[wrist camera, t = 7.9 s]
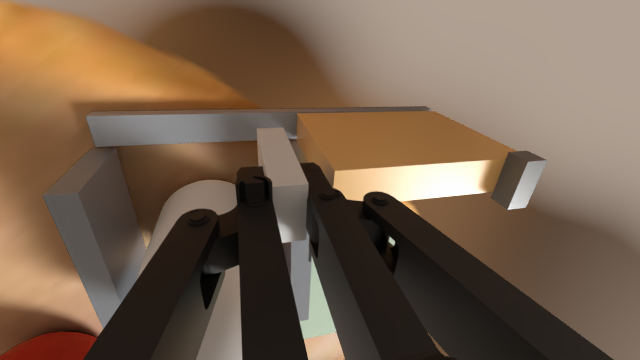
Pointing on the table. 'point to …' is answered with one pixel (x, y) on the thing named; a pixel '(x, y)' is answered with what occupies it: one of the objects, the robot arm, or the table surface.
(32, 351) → the fruit
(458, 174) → the tan wooden slab
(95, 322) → the table surface
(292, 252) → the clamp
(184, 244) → the robot arm
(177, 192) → the milk bottle
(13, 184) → the table surface
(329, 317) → the mat
